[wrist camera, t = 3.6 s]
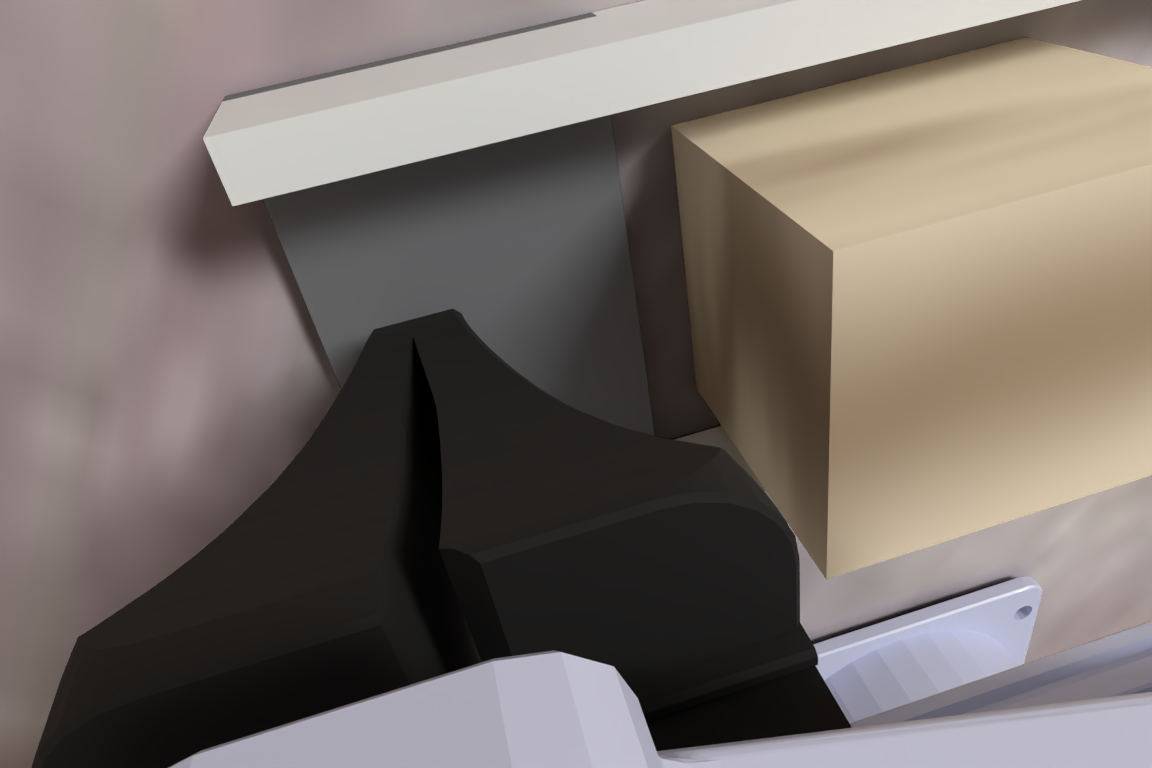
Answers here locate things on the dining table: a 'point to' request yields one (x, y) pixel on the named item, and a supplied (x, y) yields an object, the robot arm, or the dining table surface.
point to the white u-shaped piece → (518, 174)
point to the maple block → (927, 293)
